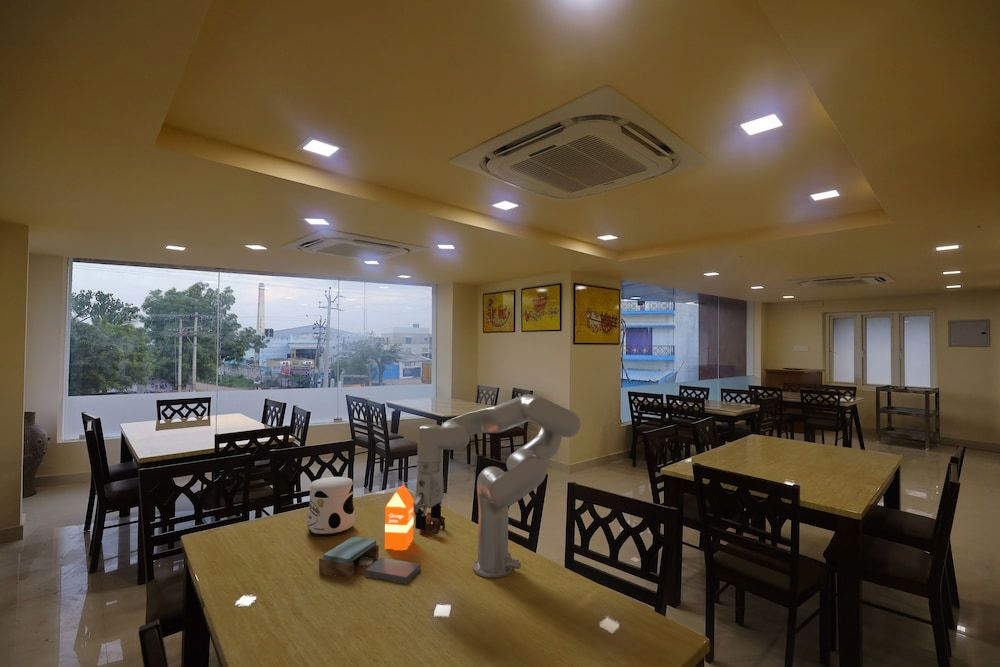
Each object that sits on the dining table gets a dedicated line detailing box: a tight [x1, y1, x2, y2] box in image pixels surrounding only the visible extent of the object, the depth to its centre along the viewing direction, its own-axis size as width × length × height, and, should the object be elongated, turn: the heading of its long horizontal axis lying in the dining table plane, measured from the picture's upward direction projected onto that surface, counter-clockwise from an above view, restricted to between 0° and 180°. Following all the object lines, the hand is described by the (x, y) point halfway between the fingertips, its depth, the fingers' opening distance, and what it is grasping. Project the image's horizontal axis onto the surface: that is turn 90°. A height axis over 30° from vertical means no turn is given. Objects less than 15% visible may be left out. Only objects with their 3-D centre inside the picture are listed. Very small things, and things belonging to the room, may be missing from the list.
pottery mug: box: [418, 511, 446, 537], centre depth 178 cm, size 12×10×8 cm
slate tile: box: [364, 557, 421, 585], centre depth 146 cm, size 14×9×2 cm, turn 72°
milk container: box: [306, 476, 356, 536], centre depth 180 cm, size 17×17×18 cm
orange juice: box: [384, 484, 415, 551], centre depth 167 cm, size 8×9×20 cm
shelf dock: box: [318, 536, 380, 580], centre depth 151 cm, size 12×15×6 cm
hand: (428, 523), depth 143 cm, fingers open, 9 cm apart
